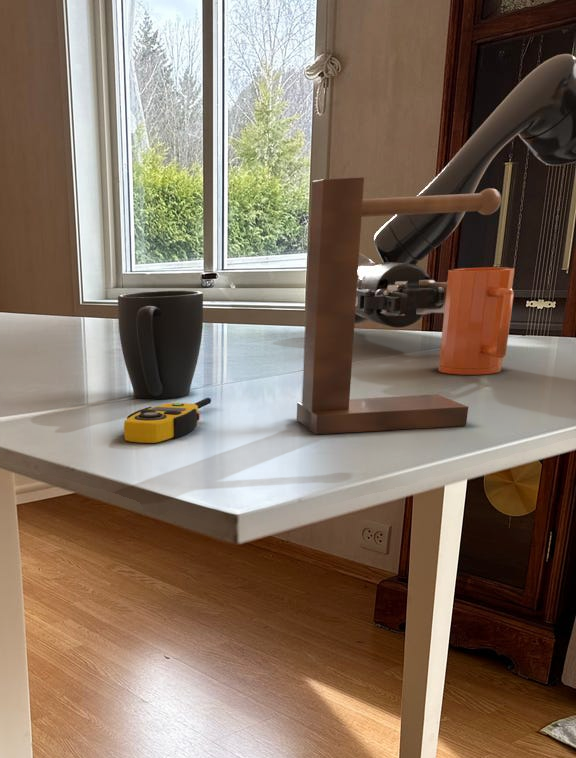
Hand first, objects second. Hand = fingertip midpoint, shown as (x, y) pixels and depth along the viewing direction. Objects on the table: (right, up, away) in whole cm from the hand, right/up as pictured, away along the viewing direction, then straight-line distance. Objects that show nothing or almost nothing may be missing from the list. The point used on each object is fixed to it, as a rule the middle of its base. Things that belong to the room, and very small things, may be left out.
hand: (441, 302), depth 103 cm
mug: (-33, -14, -12) cm, 38 cm away
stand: (-16, -20, -28) cm, 38 cm away
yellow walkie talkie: (-32, -20, -25) cm, 45 cm away
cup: (+1, -10, -7) cm, 13 cm away
